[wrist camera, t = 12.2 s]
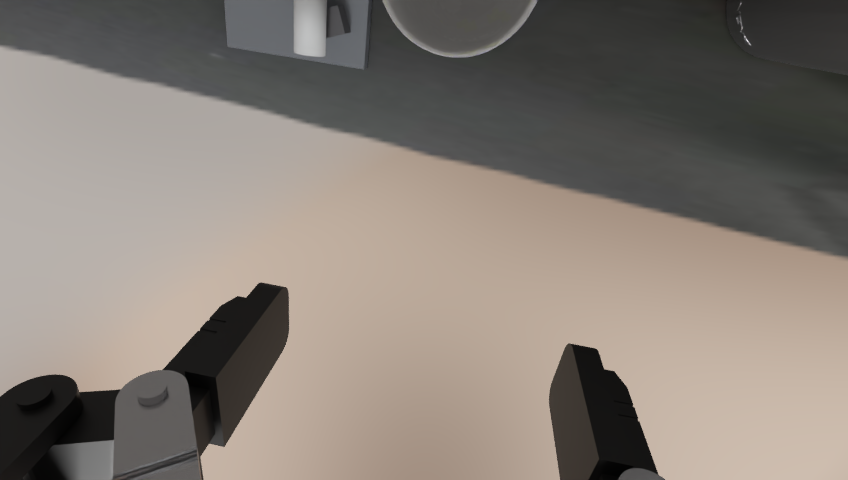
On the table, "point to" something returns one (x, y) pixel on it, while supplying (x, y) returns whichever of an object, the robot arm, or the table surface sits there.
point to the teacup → (459, 23)
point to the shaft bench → (280, 30)
